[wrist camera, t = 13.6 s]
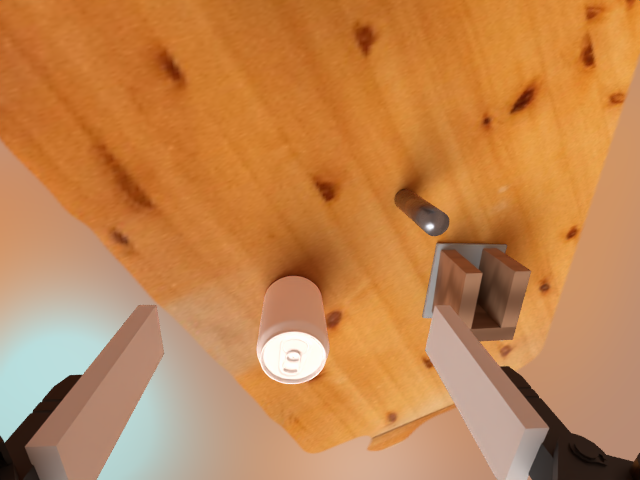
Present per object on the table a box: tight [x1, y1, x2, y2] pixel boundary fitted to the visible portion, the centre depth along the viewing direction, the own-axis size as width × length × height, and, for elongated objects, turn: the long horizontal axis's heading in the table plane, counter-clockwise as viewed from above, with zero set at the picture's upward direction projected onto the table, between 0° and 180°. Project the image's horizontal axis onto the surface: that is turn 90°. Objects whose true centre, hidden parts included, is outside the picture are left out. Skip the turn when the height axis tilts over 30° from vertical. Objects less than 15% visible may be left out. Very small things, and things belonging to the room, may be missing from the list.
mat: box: [422, 243, 507, 318], centre depth 47 cm, size 12×10×1 cm
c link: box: [432, 248, 531, 341], centre depth 43 cm, size 10×8×7 cm
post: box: [395, 189, 449, 236], centre depth 37 cm, size 3×3×10 cm
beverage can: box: [257, 276, 329, 384], centre depth 40 cm, size 8×8×12 cm
